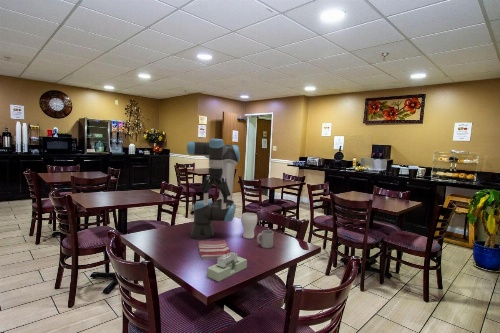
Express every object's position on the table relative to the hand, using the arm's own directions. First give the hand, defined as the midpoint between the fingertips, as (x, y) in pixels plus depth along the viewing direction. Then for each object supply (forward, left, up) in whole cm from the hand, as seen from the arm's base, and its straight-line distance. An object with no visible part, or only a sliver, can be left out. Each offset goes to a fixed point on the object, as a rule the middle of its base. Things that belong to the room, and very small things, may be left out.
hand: (214, 206), depth 153 cm
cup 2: (+13, +31, -27) cm, 43 cm away
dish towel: (-4, +5, -27) cm, 28 cm away
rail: (+20, -10, -27) cm, 35 cm away
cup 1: (-5, +38, -27) cm, 47 cm away
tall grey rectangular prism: (+20, -10, -26) cm, 34 cm away
